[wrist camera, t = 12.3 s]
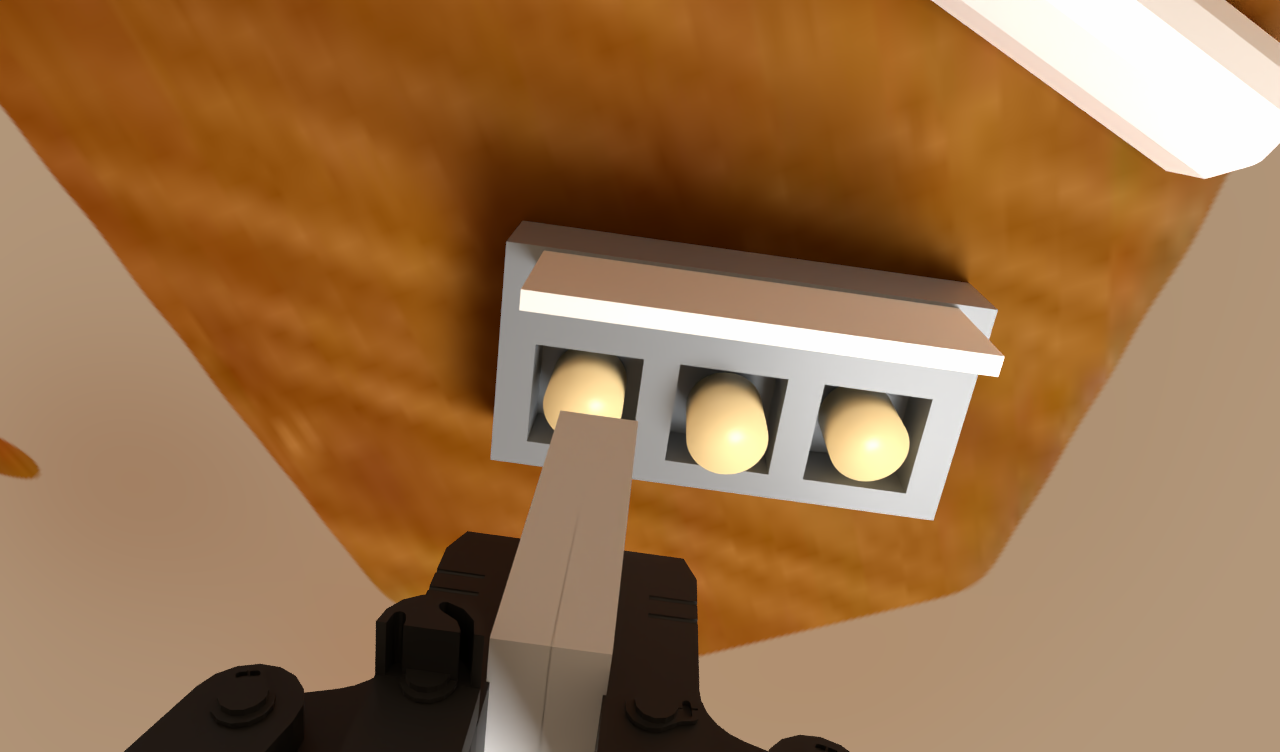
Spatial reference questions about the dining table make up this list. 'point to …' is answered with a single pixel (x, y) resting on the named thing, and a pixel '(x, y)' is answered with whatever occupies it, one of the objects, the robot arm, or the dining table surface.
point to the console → (741, 356)
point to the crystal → (1149, 72)
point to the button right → (863, 433)
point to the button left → (585, 386)
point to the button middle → (725, 424)
